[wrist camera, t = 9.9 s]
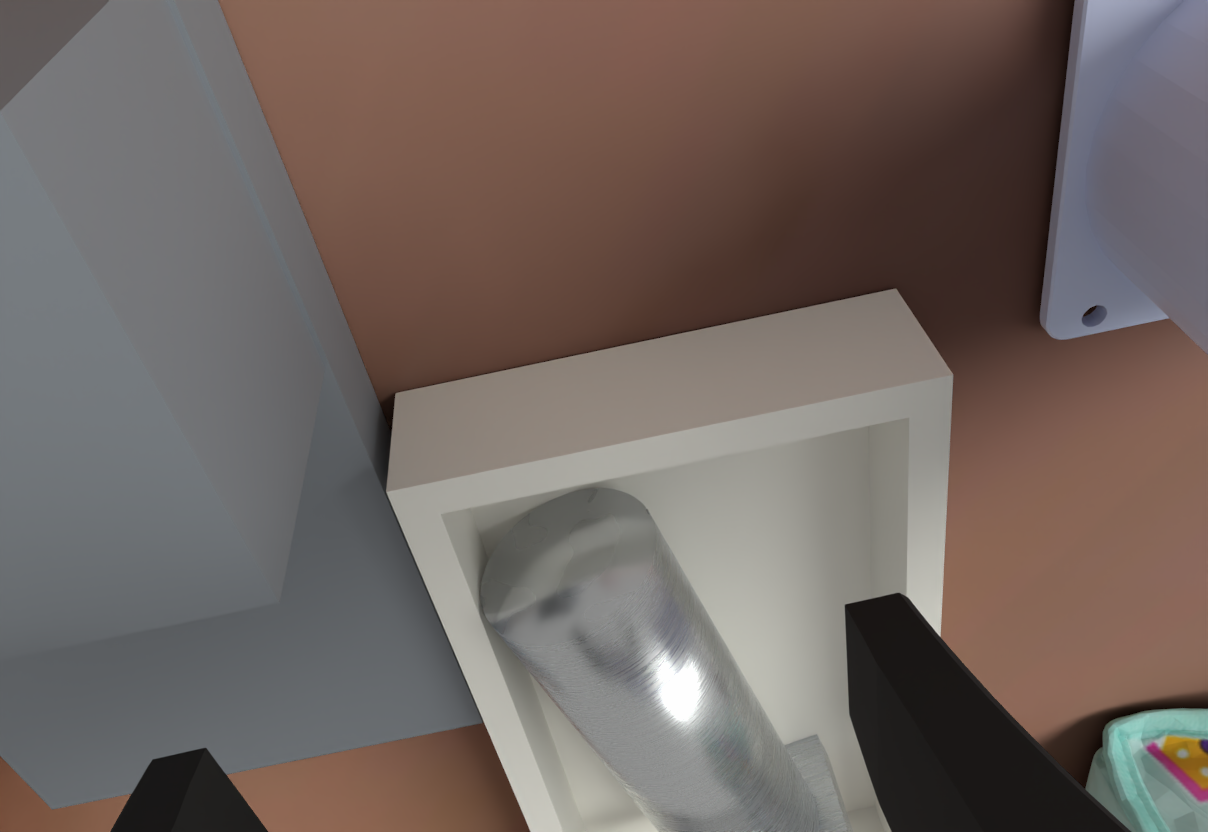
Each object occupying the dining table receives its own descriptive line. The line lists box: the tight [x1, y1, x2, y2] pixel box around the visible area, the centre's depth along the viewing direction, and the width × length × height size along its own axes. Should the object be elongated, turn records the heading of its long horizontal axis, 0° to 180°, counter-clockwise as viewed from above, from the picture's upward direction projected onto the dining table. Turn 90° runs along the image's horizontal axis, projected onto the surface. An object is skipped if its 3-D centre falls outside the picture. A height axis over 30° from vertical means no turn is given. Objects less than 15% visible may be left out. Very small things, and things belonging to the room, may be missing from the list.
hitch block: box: [0, 0, 483, 809], centre depth 18 cm, size 18×11×8 cm, turn 10°
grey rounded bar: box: [480, 488, 853, 832], centre depth 25 cm, size 13×5×4 cm, turn 24°
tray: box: [386, 289, 953, 832], centre depth 26 cm, size 11×20×3 cm, turn 10°
